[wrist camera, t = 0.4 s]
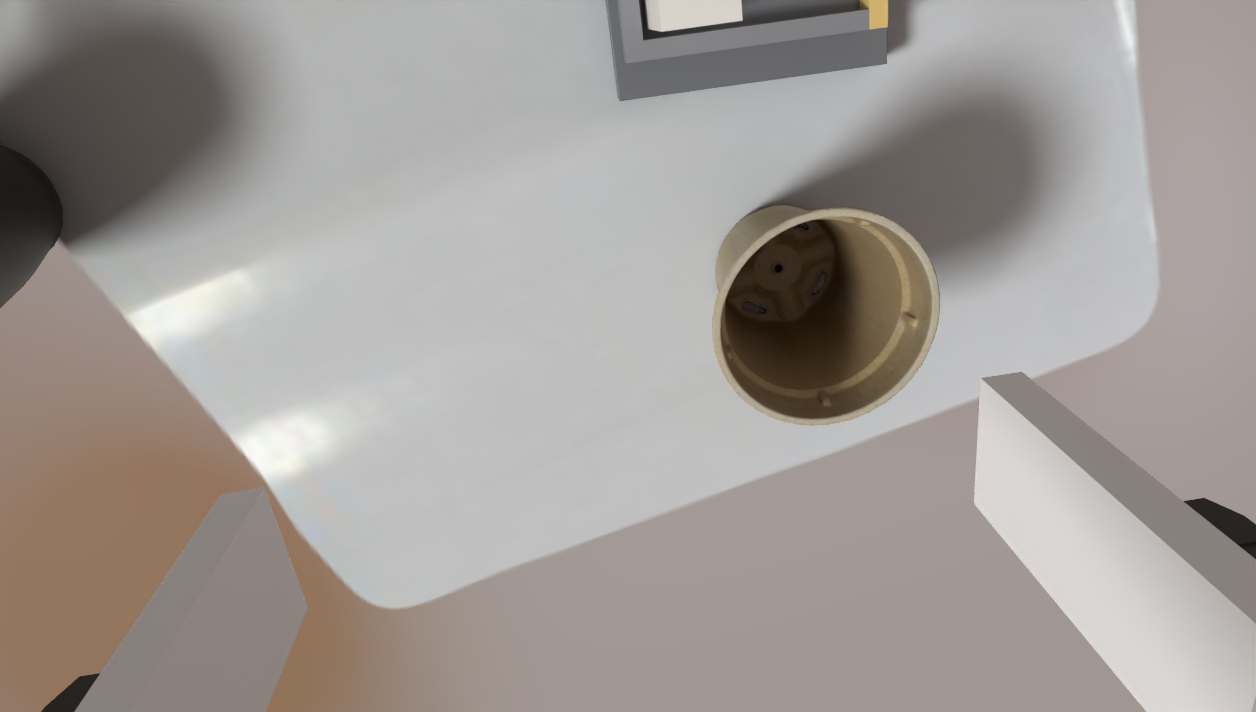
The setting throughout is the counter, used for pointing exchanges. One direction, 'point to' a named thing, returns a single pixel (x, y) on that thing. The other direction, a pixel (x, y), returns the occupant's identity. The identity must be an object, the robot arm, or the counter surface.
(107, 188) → the counter surface
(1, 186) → the mug
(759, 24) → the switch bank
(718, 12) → the tab
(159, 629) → the robot arm
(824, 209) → the flower pot
